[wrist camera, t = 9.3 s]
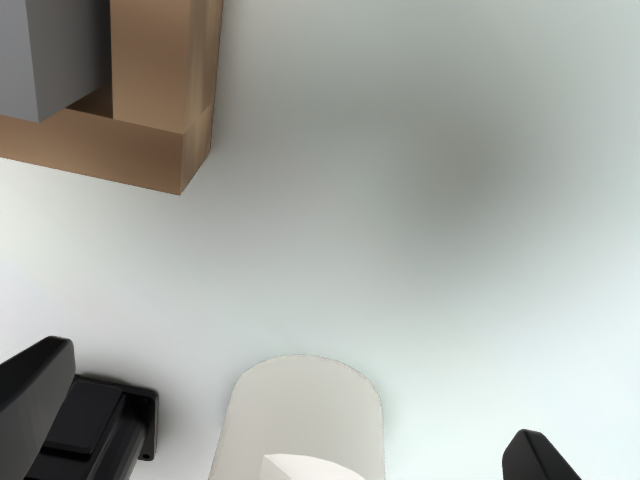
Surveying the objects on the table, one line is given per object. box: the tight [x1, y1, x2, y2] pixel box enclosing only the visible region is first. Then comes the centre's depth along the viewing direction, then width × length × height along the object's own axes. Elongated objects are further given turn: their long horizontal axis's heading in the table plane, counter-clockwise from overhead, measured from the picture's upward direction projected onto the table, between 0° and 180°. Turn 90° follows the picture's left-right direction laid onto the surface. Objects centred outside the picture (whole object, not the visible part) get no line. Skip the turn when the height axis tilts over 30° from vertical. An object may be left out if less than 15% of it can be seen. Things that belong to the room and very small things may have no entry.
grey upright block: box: [0, 0, 112, 123], centre depth 15 cm, size 4×4×7 cm
